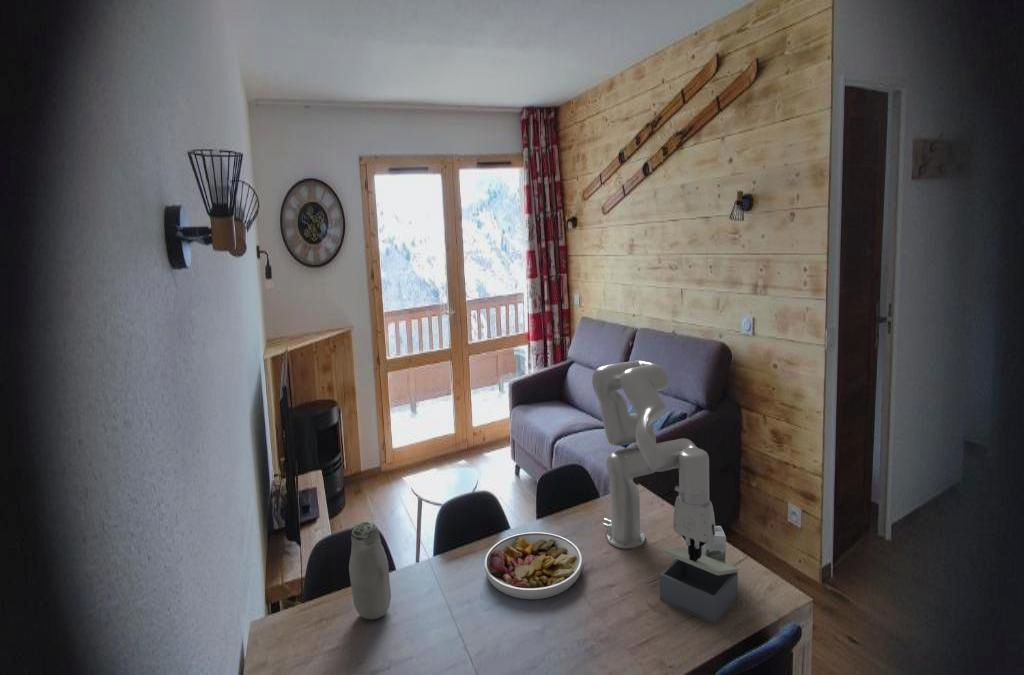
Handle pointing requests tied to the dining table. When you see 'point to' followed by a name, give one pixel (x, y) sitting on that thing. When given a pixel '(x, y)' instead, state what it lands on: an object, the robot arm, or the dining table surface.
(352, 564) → the grey rounded cylinder
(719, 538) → the syrup box
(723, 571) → the lid
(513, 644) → the dining table surface
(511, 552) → the bowl
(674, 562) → the storage box
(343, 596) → the dining table surface
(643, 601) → the dining table surface
